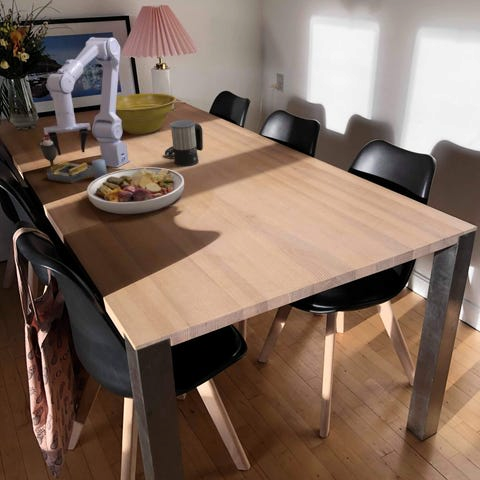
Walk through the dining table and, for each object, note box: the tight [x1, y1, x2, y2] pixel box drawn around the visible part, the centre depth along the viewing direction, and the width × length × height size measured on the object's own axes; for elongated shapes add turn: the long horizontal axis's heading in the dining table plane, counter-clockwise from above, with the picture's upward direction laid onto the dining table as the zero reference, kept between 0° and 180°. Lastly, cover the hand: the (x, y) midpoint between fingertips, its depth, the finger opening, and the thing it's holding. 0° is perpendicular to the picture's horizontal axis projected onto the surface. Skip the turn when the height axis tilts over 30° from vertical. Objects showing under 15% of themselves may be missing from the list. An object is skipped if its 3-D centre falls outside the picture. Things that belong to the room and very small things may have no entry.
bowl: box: [86, 166, 185, 215], centre depth 160 cm, size 30×30×8 cm
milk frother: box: [164, 119, 204, 167], centre depth 189 cm, size 14×16×15 cm
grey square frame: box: [46, 159, 94, 184], centre depth 180 cm, size 11×11×4 cm
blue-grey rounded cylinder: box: [91, 158, 108, 180], centre depth 177 cm, size 4×4×6 cm
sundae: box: [37, 134, 57, 173], centre depth 184 cm, size 7×7×15 cm
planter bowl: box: [115, 92, 177, 135], centre depth 227 cm, size 32×32×13 cm
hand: (71, 153), depth 171 cm, fingers open, 7 cm apart
